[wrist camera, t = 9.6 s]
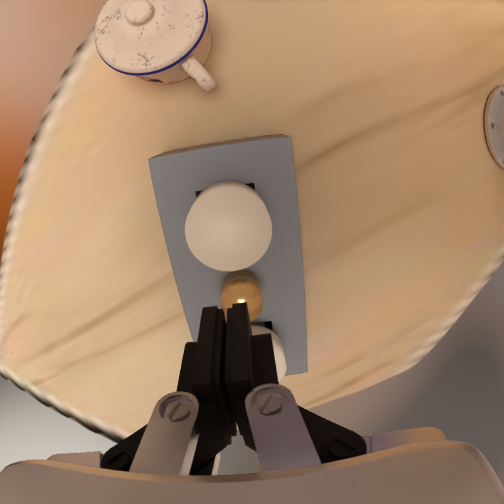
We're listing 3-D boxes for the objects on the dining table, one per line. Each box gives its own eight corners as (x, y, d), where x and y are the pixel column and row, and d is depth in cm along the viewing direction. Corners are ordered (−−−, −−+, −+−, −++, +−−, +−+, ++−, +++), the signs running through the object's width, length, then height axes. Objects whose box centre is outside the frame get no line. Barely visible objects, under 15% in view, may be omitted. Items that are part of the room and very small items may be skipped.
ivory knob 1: (257, 166, 30) (266, 182, 22) (265, 227, 32) (276, 264, 24) (192, 175, 30) (176, 196, 22) (203, 236, 32) (194, 276, 24)
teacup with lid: (111, 50, 25) (57, 23, 14) (177, -6, 23) (153, -58, 12) (181, 124, 29) (152, 125, 18) (251, 67, 27) (261, 36, 16)
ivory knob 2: (272, 290, 35) (284, 340, 27) (277, 334, 38) (288, 386, 30) (216, 298, 35) (213, 350, 27) (226, 341, 38) (226, 394, 30)
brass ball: (257, 266, 29) (260, 284, 26) (262, 299, 30) (265, 320, 27) (218, 271, 29) (217, 291, 26) (225, 304, 30) (224, 325, 27)
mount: (280, 134, 30) (291, 136, 24) (299, 341, 40) (307, 372, 35) (163, 152, 30) (148, 159, 24) (209, 353, 40) (207, 385, 35)
